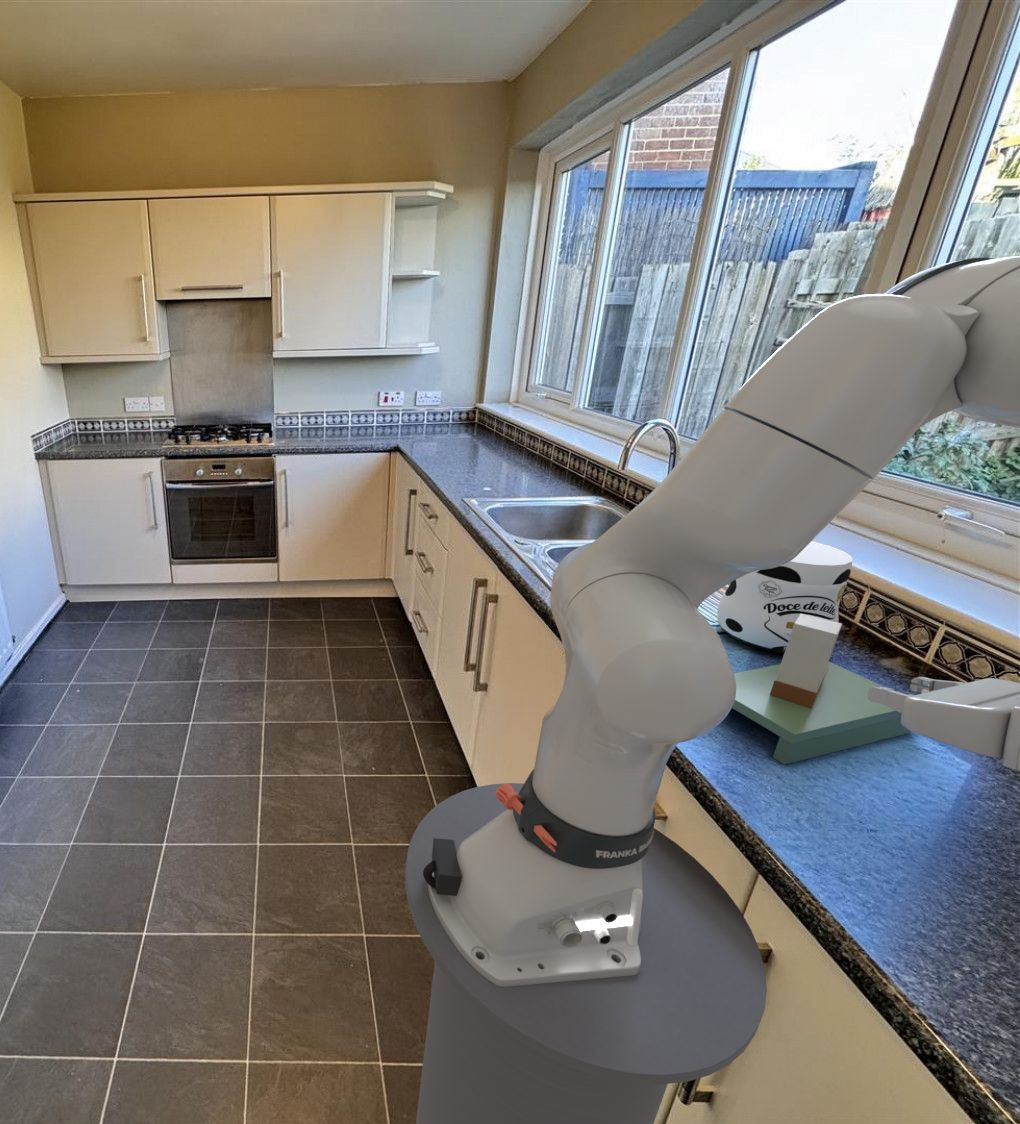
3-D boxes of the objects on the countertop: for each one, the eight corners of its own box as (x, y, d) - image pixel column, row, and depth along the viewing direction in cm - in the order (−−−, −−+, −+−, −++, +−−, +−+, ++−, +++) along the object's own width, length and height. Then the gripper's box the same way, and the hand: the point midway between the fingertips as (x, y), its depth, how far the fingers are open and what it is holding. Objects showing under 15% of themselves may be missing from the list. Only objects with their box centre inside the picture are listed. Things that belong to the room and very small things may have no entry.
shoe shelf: (784, 764, 83) (795, 734, 82) (693, 707, 96) (700, 679, 94) (910, 733, 89) (922, 704, 87) (808, 682, 102) (818, 656, 100)
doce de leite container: (792, 672, 105) (826, 575, 98) (691, 629, 120) (715, 542, 113) (849, 650, 111) (884, 557, 105) (747, 612, 126) (772, 528, 119)
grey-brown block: (811, 708, 87) (838, 635, 82) (769, 695, 90) (793, 623, 86) (823, 681, 93) (848, 612, 89) (783, 669, 96) (806, 602, 92)
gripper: (1116, 688, 66) (940, 654, 79) (1029, 714, 59) (849, 671, 71) (1105, 744, 67) (932, 701, 80) (1017, 776, 60) (842, 723, 72)
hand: (892, 687), depth 76 cm, fingers open, 8 cm apart
